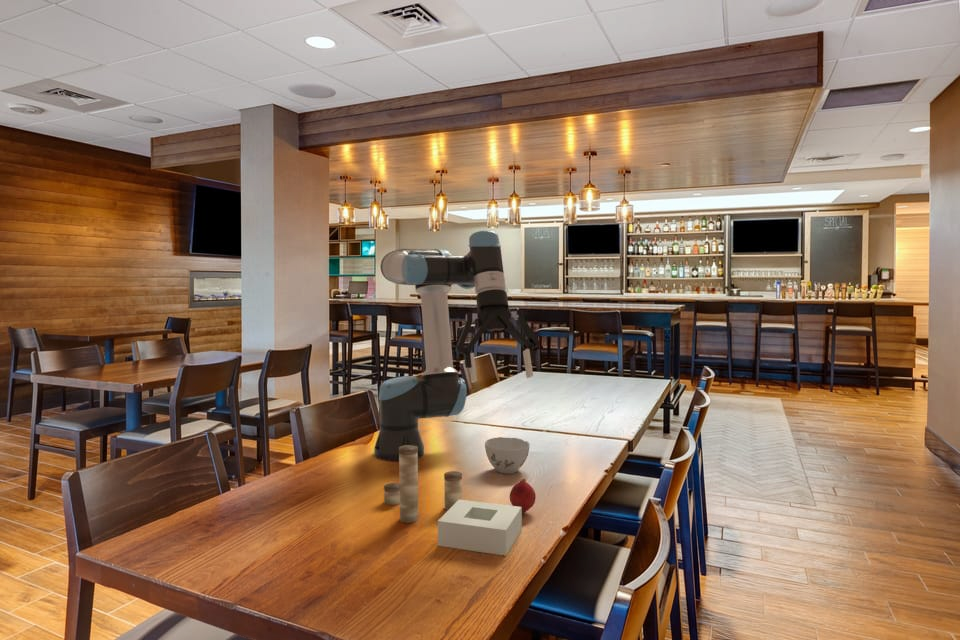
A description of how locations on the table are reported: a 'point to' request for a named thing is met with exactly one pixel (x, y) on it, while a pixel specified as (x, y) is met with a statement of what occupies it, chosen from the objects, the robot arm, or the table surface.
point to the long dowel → (408, 483)
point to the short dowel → (392, 494)
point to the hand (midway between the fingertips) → (502, 379)
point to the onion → (522, 495)
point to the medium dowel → (452, 488)
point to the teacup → (507, 453)
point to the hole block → (480, 527)
